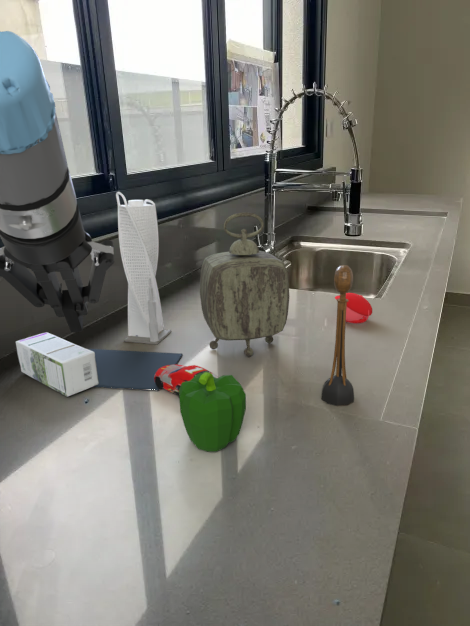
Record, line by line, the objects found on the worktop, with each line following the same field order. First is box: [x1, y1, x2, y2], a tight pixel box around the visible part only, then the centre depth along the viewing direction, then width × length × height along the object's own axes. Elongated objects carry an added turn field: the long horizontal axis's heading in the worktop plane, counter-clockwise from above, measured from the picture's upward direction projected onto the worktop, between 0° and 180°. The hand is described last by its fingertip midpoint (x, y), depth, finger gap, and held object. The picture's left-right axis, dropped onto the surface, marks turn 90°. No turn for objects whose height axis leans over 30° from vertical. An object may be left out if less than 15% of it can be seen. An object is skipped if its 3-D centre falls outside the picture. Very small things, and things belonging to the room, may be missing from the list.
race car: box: [154, 364, 220, 397], centre depth 74 cm, size 13×5×4 cm, turn 47°
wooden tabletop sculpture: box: [321, 264, 355, 407], centre depth 70 cm, size 6×5×20 cm
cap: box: [334, 292, 373, 324], centre depth 105 cm, size 8×6×6 cm
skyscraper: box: [115, 191, 172, 345], centre depth 95 cm, size 8×8×28 cm
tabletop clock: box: [199, 211, 291, 357], centre depth 86 cm, size 14×9×25 cm, turn 104°
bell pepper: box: [178, 372, 247, 453], centre depth 61 cm, size 8×8×10 cm
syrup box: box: [15, 331, 99, 397], centre depth 79 cm, size 6×6×14 cm
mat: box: [87, 348, 183, 391], centre depth 84 cm, size 18×14×1 cm
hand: (77, 322), depth 66 cm, fingers closed
